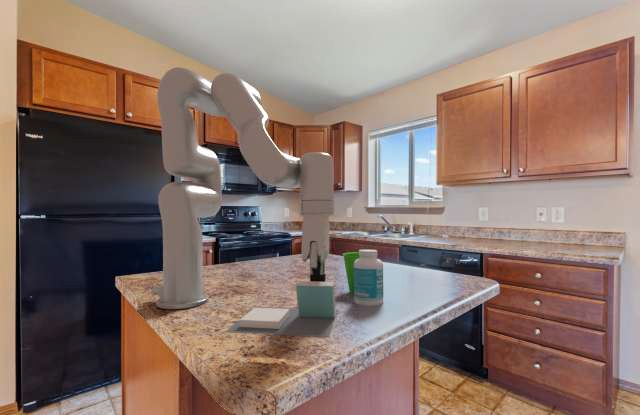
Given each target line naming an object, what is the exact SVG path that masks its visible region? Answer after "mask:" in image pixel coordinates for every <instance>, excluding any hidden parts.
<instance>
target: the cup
mask: <svg viewBox="0 0 640 415" xmlns="http://www.w3.org/2000/svg"><path fill="white" fill-rule="evenodd" d="M342 256H343V259H344V267H345V273H346V279H347V284H348V290H349V293H350V294H353V295H354V262H355V260H357V259H359V258H360V256H359V251H358V252H354V251H353V252H344V253H342Z"/></svg>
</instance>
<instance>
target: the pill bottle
mask: <svg viewBox="0 0 640 415" xmlns="http://www.w3.org/2000/svg"><path fill="white" fill-rule="evenodd" d="M358 252H359V256H360V258H359V259H357V260H355V262H354V294H353V302H354V303H356V304H357V305H360V306H365V307H366V306H371V307H372V306H380V305H382V304H383V303H384V263H383V261H382V260H381V259H379V258H378V250H377V249H359V250H358Z"/></svg>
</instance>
